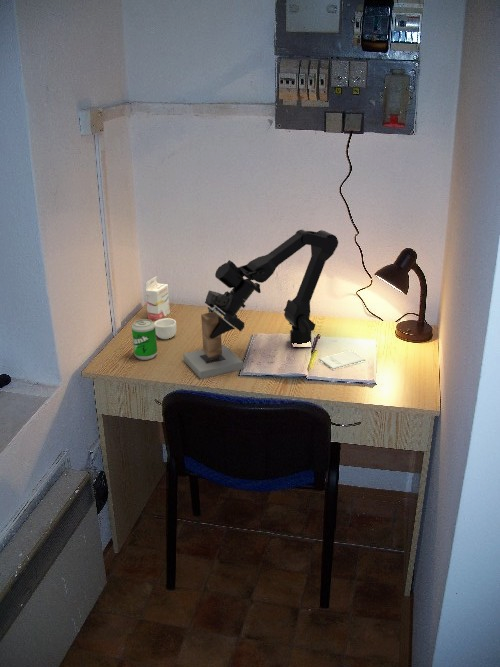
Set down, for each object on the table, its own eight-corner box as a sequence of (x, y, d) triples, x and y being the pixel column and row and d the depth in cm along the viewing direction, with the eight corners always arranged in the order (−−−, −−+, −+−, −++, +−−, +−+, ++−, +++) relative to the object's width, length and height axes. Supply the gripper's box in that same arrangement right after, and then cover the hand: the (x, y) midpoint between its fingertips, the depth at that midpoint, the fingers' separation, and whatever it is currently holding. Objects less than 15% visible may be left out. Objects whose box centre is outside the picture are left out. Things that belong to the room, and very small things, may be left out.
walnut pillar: (216, 349, 211) (214, 311, 206) (222, 354, 207) (220, 316, 202) (203, 352, 209) (201, 314, 204) (208, 357, 205) (206, 319, 200)
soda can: (148, 349, 221) (145, 316, 217) (162, 355, 217) (159, 322, 212) (130, 356, 217) (126, 322, 212) (143, 363, 212) (140, 329, 207)
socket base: (224, 351, 219) (224, 344, 218) (243, 368, 207) (243, 361, 206) (183, 360, 213) (183, 353, 212) (200, 379, 201) (200, 371, 200)
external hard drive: (365, 363, 210) (332, 372, 205) (350, 353, 216) (318, 361, 211) (365, 358, 209) (332, 367, 204) (350, 349, 216) (318, 357, 211)
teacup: (172, 342, 226) (171, 327, 224) (151, 340, 228) (150, 326, 226) (182, 330, 235) (181, 316, 233) (162, 329, 237) (161, 315, 235)
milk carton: (159, 321, 243) (156, 283, 237) (147, 319, 245) (144, 282, 239) (170, 313, 250) (167, 276, 244) (159, 311, 252) (156, 275, 246)
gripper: (209, 273, 208) (178, 311, 208) (233, 291, 192) (201, 332, 193) (232, 291, 214) (203, 329, 214) (258, 310, 199) (226, 351, 199)
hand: (207, 335), depth 205 cm, fingers closed on walnut pillar, 4 cm apart
